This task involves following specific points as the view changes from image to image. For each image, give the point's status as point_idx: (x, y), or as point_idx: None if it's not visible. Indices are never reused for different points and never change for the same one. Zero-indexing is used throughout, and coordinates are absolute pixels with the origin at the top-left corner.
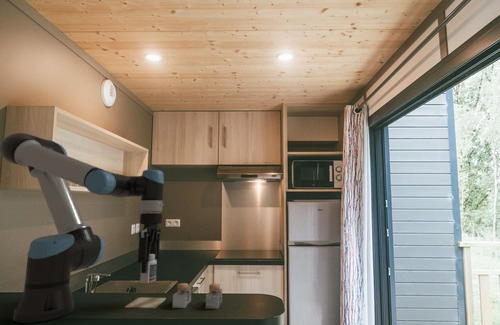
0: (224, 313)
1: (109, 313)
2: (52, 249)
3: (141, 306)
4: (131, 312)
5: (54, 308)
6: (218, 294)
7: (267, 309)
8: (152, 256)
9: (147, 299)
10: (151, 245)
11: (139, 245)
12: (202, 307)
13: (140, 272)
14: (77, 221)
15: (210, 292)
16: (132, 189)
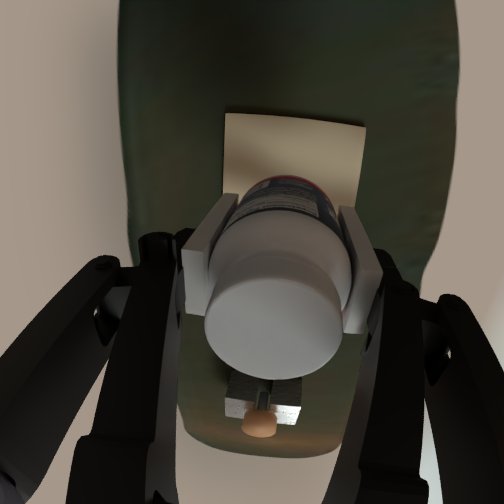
0: (202, 395)
1: (162, 84)
2: None
3: (228, 183)
4: (177, 163)
5: None
6: (236, 417)
7: (234, 443)
8: (235, 360)
9: (330, 178)
10: (356, 428)
11: (4, 361)
12: None
13: (253, 196)
14: None
15: (270, 403)
16: None
